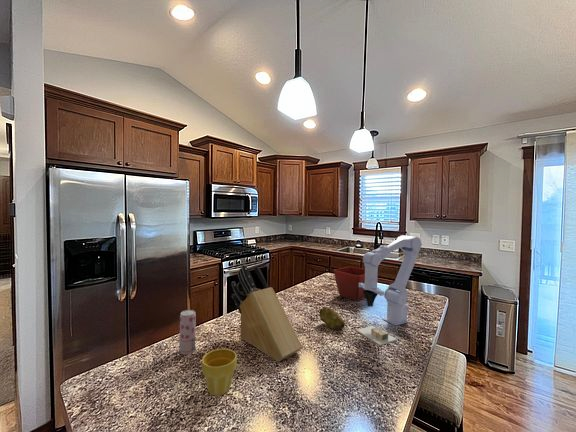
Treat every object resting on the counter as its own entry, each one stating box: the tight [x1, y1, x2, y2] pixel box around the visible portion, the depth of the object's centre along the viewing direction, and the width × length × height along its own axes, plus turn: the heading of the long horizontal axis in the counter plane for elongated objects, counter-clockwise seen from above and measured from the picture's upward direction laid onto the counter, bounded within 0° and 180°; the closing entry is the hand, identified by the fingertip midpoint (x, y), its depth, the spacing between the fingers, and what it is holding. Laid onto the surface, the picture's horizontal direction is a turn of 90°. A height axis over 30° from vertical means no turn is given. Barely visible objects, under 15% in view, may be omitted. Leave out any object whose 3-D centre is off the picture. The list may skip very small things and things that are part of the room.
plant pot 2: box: [333, 266, 366, 302], centre depth 166 cm, size 19×19×17 cm
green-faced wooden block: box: [371, 327, 390, 341], centre depth 113 cm, size 4×2×6 cm
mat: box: [356, 325, 398, 346], centre depth 116 cm, size 10×14×1 cm
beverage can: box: [179, 309, 197, 356], centre depth 100 cm, size 6×6×15 cm
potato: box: [318, 306, 346, 331], centre depth 124 cm, size 8×13×8 cm, turn 27°
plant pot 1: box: [201, 348, 238, 397], centre depth 80 cm, size 10×10×10 cm
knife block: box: [231, 264, 304, 362], centre depth 107 cm, size 11×35×31 cm, turn 45°
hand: (370, 306), depth 124 cm, fingers closed
